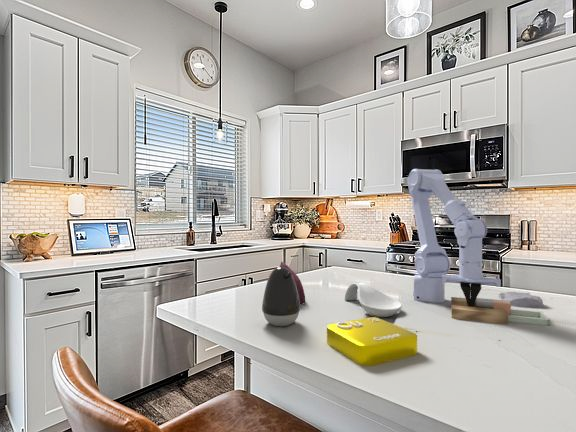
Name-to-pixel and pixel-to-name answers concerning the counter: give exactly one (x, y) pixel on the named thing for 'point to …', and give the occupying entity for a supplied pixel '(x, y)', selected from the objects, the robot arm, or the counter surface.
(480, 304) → the grey steel block
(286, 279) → the black egg shape
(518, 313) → the sage tray
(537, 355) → the counter surface
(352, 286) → the spoon rest
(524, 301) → the stone block
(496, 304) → the terracotta block
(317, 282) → the counter surface
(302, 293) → the vegetable
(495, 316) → the oak channel board
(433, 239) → the robot arm
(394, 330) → the element tile
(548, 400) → the counter surface
